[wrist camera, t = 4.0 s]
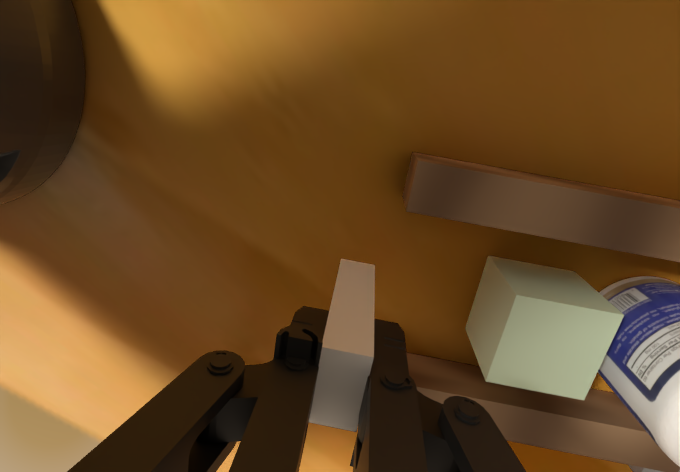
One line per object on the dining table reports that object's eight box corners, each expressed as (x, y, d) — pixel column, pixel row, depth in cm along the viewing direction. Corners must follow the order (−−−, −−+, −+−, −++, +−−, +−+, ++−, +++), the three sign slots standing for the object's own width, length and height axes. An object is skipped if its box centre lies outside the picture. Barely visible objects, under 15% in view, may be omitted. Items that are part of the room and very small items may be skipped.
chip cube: (464, 327, 20) (485, 381, 16) (487, 254, 18) (516, 295, 15) (544, 342, 20) (584, 400, 16) (573, 270, 18) (624, 315, 15)
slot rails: (361, 376, 21) (359, 411, 19) (412, 151, 17) (418, 160, 15) (642, 431, 21) (676, 474, 18) (763, 215, 17) (826, 235, 14)
